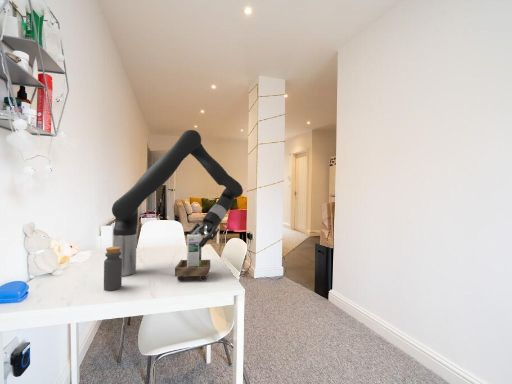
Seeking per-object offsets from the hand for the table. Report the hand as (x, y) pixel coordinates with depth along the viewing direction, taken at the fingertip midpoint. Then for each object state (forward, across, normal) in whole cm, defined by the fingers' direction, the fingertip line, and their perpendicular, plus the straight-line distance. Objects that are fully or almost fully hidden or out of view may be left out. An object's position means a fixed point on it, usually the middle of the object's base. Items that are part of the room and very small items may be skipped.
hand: (194, 244), depth 111 cm
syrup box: (+7, 0, +7) cm, 10 cm away
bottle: (+30, -12, -10) cm, 33 cm away
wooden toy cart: (+10, 0, +10) cm, 14 cm away
